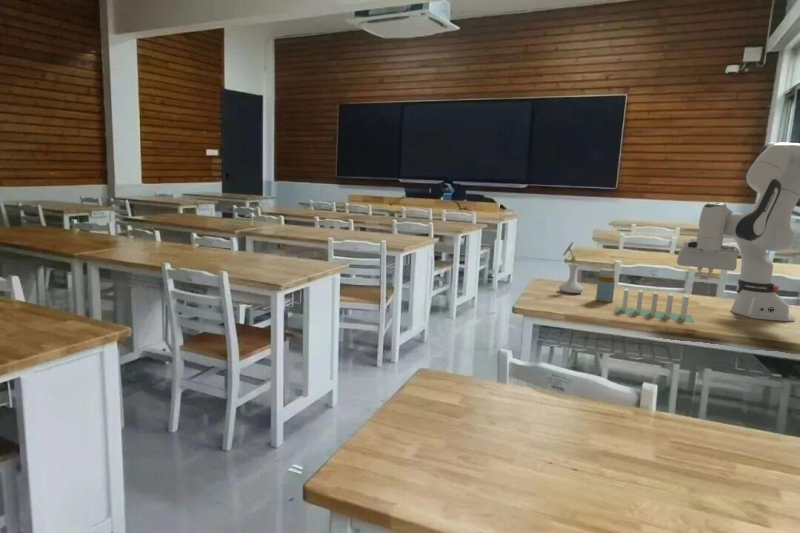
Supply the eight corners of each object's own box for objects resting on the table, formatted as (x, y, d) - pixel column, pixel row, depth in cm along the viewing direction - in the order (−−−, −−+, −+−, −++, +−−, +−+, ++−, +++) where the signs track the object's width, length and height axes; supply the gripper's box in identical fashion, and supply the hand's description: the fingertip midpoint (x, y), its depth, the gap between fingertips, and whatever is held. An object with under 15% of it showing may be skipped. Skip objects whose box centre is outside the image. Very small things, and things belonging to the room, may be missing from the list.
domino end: (626, 309, 224) (628, 288, 222) (626, 312, 219) (628, 290, 217) (622, 308, 224) (624, 288, 223) (621, 311, 220) (624, 290, 218)
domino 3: (669, 314, 217) (672, 293, 216) (670, 317, 213) (673, 295, 211) (665, 314, 218) (668, 292, 216) (666, 317, 213) (668, 295, 212)
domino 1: (640, 311, 221) (642, 290, 220) (640, 313, 217) (643, 292, 215) (636, 310, 222) (638, 289, 220) (636, 313, 218) (638, 292, 216)
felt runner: (691, 316, 217) (691, 315, 217) (694, 324, 206) (694, 322, 206) (615, 307, 229) (615, 306, 228) (614, 313, 218) (614, 312, 218)
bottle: (592, 300, 239) (595, 268, 237) (604, 299, 242) (607, 267, 240) (603, 304, 233) (607, 271, 231) (615, 303, 236) (619, 270, 233)
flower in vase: (565, 288, 263) (569, 238, 259) (587, 292, 256) (592, 241, 251) (552, 292, 254) (557, 240, 250) (574, 296, 246) (579, 243, 242)
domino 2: (651, 315, 215) (653, 293, 214) (650, 312, 220) (653, 291, 218) (655, 315, 215) (658, 294, 213) (654, 312, 219) (657, 291, 218)
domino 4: (684, 316, 215) (687, 295, 213) (685, 319, 211) (688, 297, 209) (680, 316, 216) (683, 294, 214) (681, 318, 211) (684, 297, 210)
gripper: (738, 246, 204) (732, 281, 207) (679, 241, 212) (674, 274, 215) (741, 247, 199) (735, 283, 201) (680, 242, 207) (675, 277, 209)
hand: (703, 279), depth 208 cm, fingers closed
